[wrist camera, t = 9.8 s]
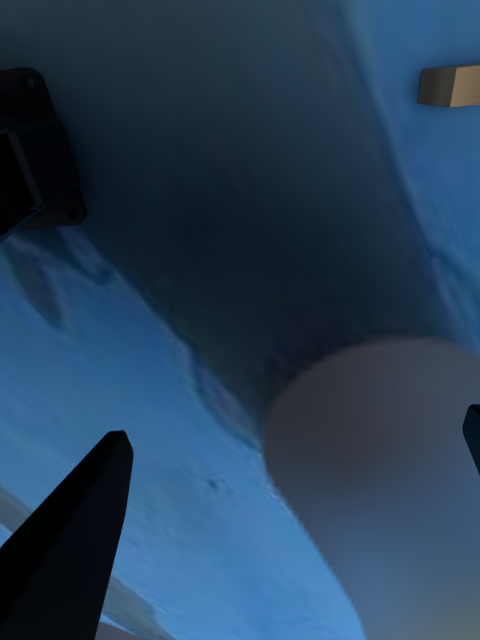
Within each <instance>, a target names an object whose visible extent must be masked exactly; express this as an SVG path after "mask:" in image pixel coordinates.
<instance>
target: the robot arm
mask: <svg viewBox="0 0 480 640" xmlns="http://www.w3.org/2000/svg"><path fill="white" fill-rule="evenodd" d="M27 76H30V77H31V78H32V80H33V81H34V86H33V88H32V89H31V88H30V87H28V85H27V84H26V77H27ZM79 182H80V177H79V174H78V171H77V168H76V164H75V161H74V158H73V155H72V152H71V149H70V146H69V143H68V140H67V136H66V133H65V130H64V127H63V124H62V123H61V122H60V121H59V120H58V119H57V118H56V117H55V114H54V111H53V108H52V105H51V102H50V99H49V96H48V93H47V90H46V87H45V84H44V81H43V79H42V77H41V75H40V74H39V73H38V72H37V71H36V70H34V69H32V68H15V69H8V70H0V242H1V241H3V240H4V239H6V238H7V237H9V236H10V235H12V234H13V233H15V232H16V231H18V230H27V229H37V228H47V227H57V226H67V225H76V224H80V223H81V222H83V221H84V220H85V219H86V216H87V212H86V208H85V205H84V202H83V199H82V196H81V193H80V190H79V187H78V184H79ZM72 209H74V210H76V211H77V212H78V214H79V217H75V216H74V215H73V214H72V211H71V210H72ZM462 429H463V434H464V437H465V440H466V442H467V445H468V447H469V450H470V452H471V455H472V457H473V460H474V462H475V465H476V467H477V470H478V472H479V474H480V404H472V405H470V406H469V407H468V410H467V413H466V417H465V420H464V423H463V428H462ZM132 465H133V449H132V446H131V444H130V441H129V439H128V437H127V434H126V432H125V431H123V430H119V431H110V432H108V433H107V434H106V435H105V436H104V437H103V438H102V439H101V440H100V441H99V442H98V443H97V444H96V445H95V447H94V448H93V449H92V450H91V451H90V452H89V453H88V454H87V455H86V456H85V457H84V458H83V459H82V461H81V462H80V463H79V464H78V465H77V466H76V467H75V468H74V469H73V470H72V471H71V472H70V473H69V474H68V476H67V477H66V478H65V479H64V480H63V481H62V482H61V483H60V484H59V485H58V486H57V487H56V488H55V489H54V491H53V492H52V493H51V494H50V495H49V496H48V497H47V498H46V499H45V500H44V501H43V502H42V503H41V504H40V506H39V507H38V508H37V509H36V510H35V511H34V512H33V513H32V514H31V515H30V516H29V517H28V518H27V520H26V521H25V522H24V523H23V524H22V525H21V526H20V527H19V528H18V529H17V530H16V531H15V532H14V533H13V535H12V536H11V537H10V538H9V539H8V540H7V541H6V542H5V543H4V544H3V545H2V546H1V548H0V640H95V635H96V632H97V628H98V623H99V620H100V616H101V612H102V607H103V603H104V599H105V595H106V591H107V587H108V583H109V579H110V575H111V571H112V567H113V563H114V559H115V555H116V551H117V547H118V543H119V539H120V535H121V531H122V527H123V523H124V518H125V514H126V508H127V501H128V494H129V486H130V479H131V472H132Z"/></svg>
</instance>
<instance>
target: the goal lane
mask: <svg viewBox="0 0 480 640" xmlns="http://www.w3.org/2000/svg"><path fill="white" fill-rule="evenodd" d="M418 103H422V104H429V105H436V106H443V107H458V106H467V105H476V104H480V63H473V64H465V65H457V66H448V67H440V68H432V69H424V70H422V74H421V82H420V89H419V97H418Z"/></svg>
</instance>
